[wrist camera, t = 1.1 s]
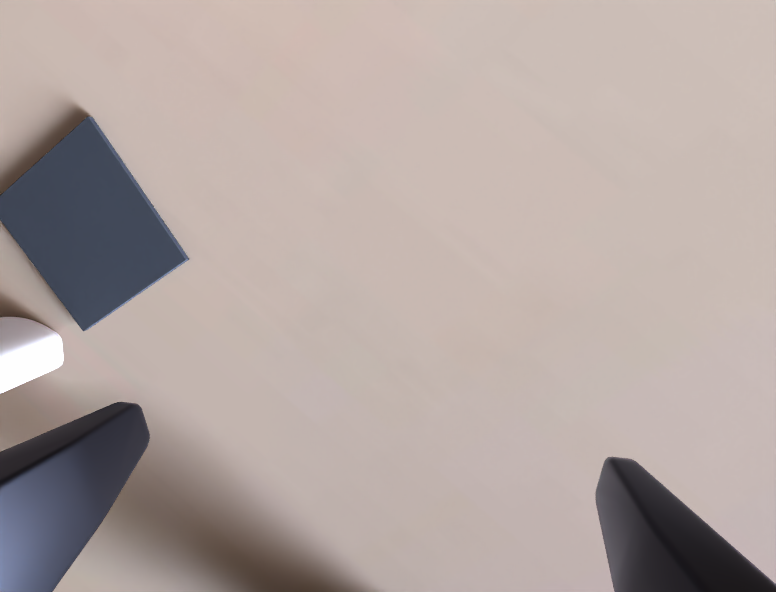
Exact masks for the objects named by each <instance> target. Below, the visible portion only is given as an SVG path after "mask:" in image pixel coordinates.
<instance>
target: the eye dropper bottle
mask: <svg viewBox="0 0 776 592" xmlns="http://www.w3.org/2000/svg"><path fill="white" fill-rule="evenodd" d="M62 364H63V346H62V340H61V337H60V336H59V334H58V333H56V332H55V331H53V330H52V329H50V328H48V327H47V326H45V325H43V324H41V323H38V322H36V321H33V320H30V319H26V318H20V317H0V394H1V393H3V392H5V391H7V390H10V389H12V388H14V387H16V386H19V385H21V384H23V383H25V382H27V381H30V380H32V379H34V378H36V377H39V376H41V375H43V374H45V373H47V372H50V371H52V370H54V369H56V368H58V367H59V366H61V365H62Z"/></svg>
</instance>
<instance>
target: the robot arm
mask: <svg viewBox="0 0 776 592" xmlns="http://www.w3.org/2000/svg"><path fill="white" fill-rule="evenodd" d="M149 439H150V434H149V430H148V427H147V424H146V421H145V417H144V414H143V411H142V408H141V407H140V406H139V405H138V404H135V403H127V402H117V403H114V404H111V405H109V406H107V407H104V408H102V409H100V410H97V411H95V412H93V413H90V414H88V415H86V416H83V417H81V418H79V419H76V420H74V421H72V422H69V423H67V424H65V425H62V426H60V427H58V428H55V429H53V430H51V431H48V432H46V433H44V434H41V435H39V436H37V437H34V438H32V439H30V440H27V441H25V442H23V443H20V444H18V445H16V446H13V447H11V448H9V449H6V450H4V451H2V452H0V592H52V591H53V590H54V589H55V587H56V586H57V584H58V583H59V582H60V580H61V579H62V577H63V576H64V575H65V573H66V572H67V570H68V569H69V568H70V566H71V565H72V563H73V562H74V561H75V559H76V558H77V556H78V555H79V554H80V552H81V551H82V549H83V548H84V547H85V545H86V544H87V542H88V541H89V540H90V538H91V537H92V535H93V534H94V533H95V531H96V530H97V528H98V527H99V525H100V524H101V522H102V521H103V519H104V518H105V516H106V515H107V513H108V511H109V510H110V508H111V507H112V505H113V503H114V502H115V500H116V498H117V497H118V495H119V493H120V492H121V490H122V488H123V486H124V485H125V483H126V481H127V480H128V478H129V476H130V475H131V473H132V471H133V470H134V468H135V466H136V465H137V463H138V461H139V460H140V458H141V456H142V455H143V453H144V451H145V449H146V448H147V446H148V443H149ZM596 505H597V510H598V515H599V520H600V525H601V529H602V534H603V539H604V544H605V549H606V553H607V558H608V563H609V568H610V573H611V577H612V582H613V587H614V591H615V592H776V584H775V583H774V582H773V581H771V580H770V579H769V578H768V577H767V576H766V575H765V574H764V573H762V572H761V571H760V570H759V569H758V568H757V567H756V566H754V565H753V564H752V563H751V562H750V561H749V560H748V559H746V558H745V557H744V556H743V555H742V554H741V553H740V552H738V551H737V550H736V549H735V548H734V547H733V546H732V545H730V544H729V543H728V542H727V541H726V540H725V539H724V538H723V537H721V536H720V535H719V534H718V533H717V532H716V531H715V530H713V529H712V528H711V527H710V526H709V525H708V524H707V523H705V522H704V521H703V520H702V519H701V518H700V517H699V516H697V515H696V514H695V513H694V512H693V511H692V510H691V509H689V508H688V507H687V506H686V505H685V504H684V503H683V502H682V501H680V500H679V499H678V498H677V497H676V496H675V495H674V494H672V493H671V492H670V491H669V490H668V489H667V488H666V487H664V486H663V485H662V484H661V483H660V482H659V481H658V480H656V479H655V478H654V477H653V476H652V475H651V474H650V473H648V472H647V471H646V470H645V469H644V468H643V467H642V466H640V465H639V464H638V463H637V462H636V461H634V460H632V459H627V458H618V457H608V458H607V459H606V460H605V462H604V464H603V468H602V471H601V475H600V478H599V482H598V485H597V489H596Z"/></svg>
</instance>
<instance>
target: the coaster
mask: <svg viewBox="0 0 776 592" xmlns="http://www.w3.org/2000/svg"><path fill="white" fill-rule="evenodd" d="M0 220H1V221H2V223H3V224H4V226H5V227H6V228H7V230H8V231H9V232H10V234H11V235H12V236H13V238H14V239H15V240H16V242H17V243H18V244H19V246H20V247H21V248H22V250H23V251H24V252H25V254H26V255H27V256H28V258H29V259H30V260H31V262H32V263H33V264H34V266H35V267H36V268H37V270H38V271H39V272H40V274H41V275H42V277H43V278H44V279H45V281H46V282H47V283H48V285H49V286H50V287H51V289H52V290H53V291H54V293H55V294H56V295H57V297H58V298H59V299H60V301H61V302H62V303H63V305H64V306H65V307H66V309H67V310H68V311H69V313H70V314H71V315H72V317H73V318H74V319H75V321H76V322H77V323H78V325H79V326H80V327H81V329H82V330H83V331H86V330H88V329H89V328H91V327H92V326H94V325H95V324H96V323H98V322H99V321H101V320H102V319H104V318H105V317H106V316H108V315H109V314H111V313H112V312H114V311H115V310H117V309H118V308H119V307H121V306H122V305H124V304H125V303H127V302H128V301H130V300H131V299H132V298H134V297H135V296H137V295H138V294H140V293H141V292H143V291H144V290H145V289H147V288H148V287H150V286H151V285H153V284H154V283H155V282H157V281H158V280H160V279H161V278H163V277H164V276H166V275H167V274H168V273H170V272H171V271H173V270H174V269H176V268H177V267H179V266H180V265H181V264H183V263H184V262H186V261H187V260H189V258H188V257H187V255H186V254H185V252H184V251H183V249H182V248H181V246H180V245H179V243H178V242H177V240H176V239H175V238H174V236H173V235H172V233H171V232H170V230H169V229H168V227H167V226H166V224H165V223H164V221H163V220H162V218H161V217H160V216H159V214H158V213H157V211H156V210H155V208H154V207H153V205H152V204H151V202H150V201H149V199H148V198H147V196H146V195H145V194H144V192H143V191H142V189H141V188H140V186H139V185H138V183H137V182H136V180H135V179H134V177H133V176H132V175H131V173H130V172H129V170H128V169H127V167H126V166H125V164H124V163H123V161H122V160H121V158H120V157H119V155H118V154H117V153H116V151H115V150H114V148H113V147H112V145H111V144H110V142H109V141H108V139H107V138H106V136H105V135H104V133H103V132H102V131H101V129H100V128H99V126H98V125H97V123H96V122H95V120H94V119H93V117H89V116H88V117H87V118H86V119H85V120H83V121H82V122H81V123H80V124H79V125H78V126H77V127H76V128H75V129H73V130H72V131H71V132H70V133H69V134H68V135H67V136H66V137H65V138H63V139H62V140H61V141H60V142H59V143H58V144H57V145H56V146H55V147H53V148H52V149H51V150H50V151H49V152H48V153H47V154H46V155H45V156H43V157H42V158H41V159H40V160H39V161H38V162H37V163H36V164H35V165H33V166H32V167H31V168H30V169H29V170H28V171H27V172H26V173H25V174H23V175H22V176H21V177H20V178H19V179H18V180H17V181H16V182H15V183H14V184H12V185H11V186H10V187H9V188H8V189H7V190H6V191H5V192H4V193H2V194H1V195H0Z"/></svg>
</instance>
